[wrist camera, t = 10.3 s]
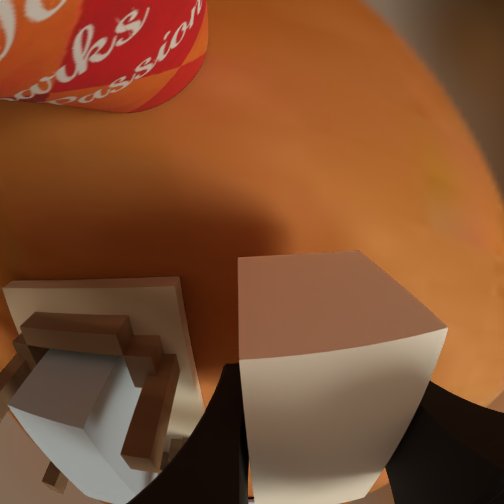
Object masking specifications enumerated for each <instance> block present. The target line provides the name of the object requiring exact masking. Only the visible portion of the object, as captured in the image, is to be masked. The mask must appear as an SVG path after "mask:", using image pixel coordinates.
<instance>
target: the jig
mask: <svg viewBox="0 0 504 504" xmlns="http://www.w3.org/2000/svg"><path fill="white" fill-rule="evenodd" d="M2 289H3V293H4V296H5V299H6V302H7V305H8V307H9V310H10V313H11V316H12V318H13V321H14V324H15V326H16V329H17V331H18V333H19V336H18V337H17V338H16V339H15V340H14V341H13V345H14V347H15V349H16V351H17V354H16V355H15V356H14V357H13V359H12V360H11V361H10V362H9V363H8V364H7V365H6V367H5V368H4V369H3V370H2V371H1V373H0V422H1V420H2V419H3V417H4V416H5V414H6V413H7V411H8V410H9V407H8V403H9V402H10V400H11V399H12V397H13V396H14V395H15V393H16V392H17V390H18V389H19V388H20V386H21V385H22V384H23V382H24V381H25V380H26V378H27V377H28V376H29V374H30V373H31V372H32V370H33V369H34V368H35V367H36V365H37V364H38V363H39V361H40V360H41V359H42V358H43V356H44V355H45V354H46V353H47V351H48V350H49V349H50V348H51V349H58V350H66V351H74V352H83V353H94V354H105V355H119V356H123V357H124V360H125V362H126V365H127V368H128V371H129V373H130V376H131V379H132V381H133V384H134V386H135V387H136V388H139V390H140V396H139V398H138V401H137V404H136V407H135V410H134V413H133V416H132V419H131V422H130V425H129V428H128V431H127V434H126V437H125V441H124V444H123V447H122V450H121V453H120V455H121V456H122V458H123V459H124V460H125V462H126V463H127V465H128V466H129V467H130V469H134V470H140V471H146V472H154V473H158V475H159V474H160V473H161V472H162V470H163V469H164V468H165V467H166V466H167V465H168V464H169V462H170V461H171V460H172V459H173V458H174V457H175V455H176V454H177V453H178V452H179V450H180V449H181V448H182V446H183V445H184V444H185V442H186V441H187V439H188V438H189V436H190V435H191V434H192V432H193V430H194V429H195V427H196V425H197V424H198V422H199V420H200V419H201V417H202V416H203V414H204V412H205V407H204V403H203V398H202V394H201V390H200V385H199V381H198V376H197V371H196V367H195V362H194V357H193V352H192V347H191V341H190V336H189V331H188V325H187V319H186V313H185V307H184V301H183V295H182V288H181V282H180V276H170V277H145V278H116V279H81V280H23V281H11V282H10V283H8V284H7V285H5V286H4V287H3V288H2ZM158 475H157V476H158ZM42 482H43V483H44V484H45V485H47V486H48V487H49V488H50V489H51V490H54V491H56V492H59V493H62V494H63V493H64V490H65V487H66V485H67V482H68V478H67V477H66V476H65V475H64V474H63V473H62V472H61V471H60V470H59V469H58V468H57V467H56V466H55V465H54V464H53V463H52V461H50V464H49V466H48V468H47V470H46V473H45V475H44V477H43V480H42Z"/></svg>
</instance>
